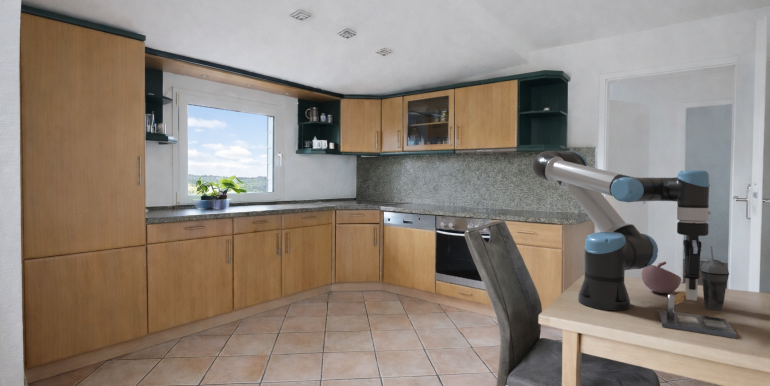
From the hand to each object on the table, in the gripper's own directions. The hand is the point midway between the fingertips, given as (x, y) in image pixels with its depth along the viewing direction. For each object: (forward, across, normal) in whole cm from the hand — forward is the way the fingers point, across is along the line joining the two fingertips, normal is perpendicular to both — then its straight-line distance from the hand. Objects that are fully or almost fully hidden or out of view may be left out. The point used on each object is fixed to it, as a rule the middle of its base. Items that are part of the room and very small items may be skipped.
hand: (691, 299), depth 121 cm
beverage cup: (+5, +14, -8) cm, 17 cm away
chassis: (+5, -8, 0) cm, 10 cm away
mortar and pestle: (+5, +26, +6) cm, 27 cm away
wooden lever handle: (+1, -2, +3) cm, 4 cm away
